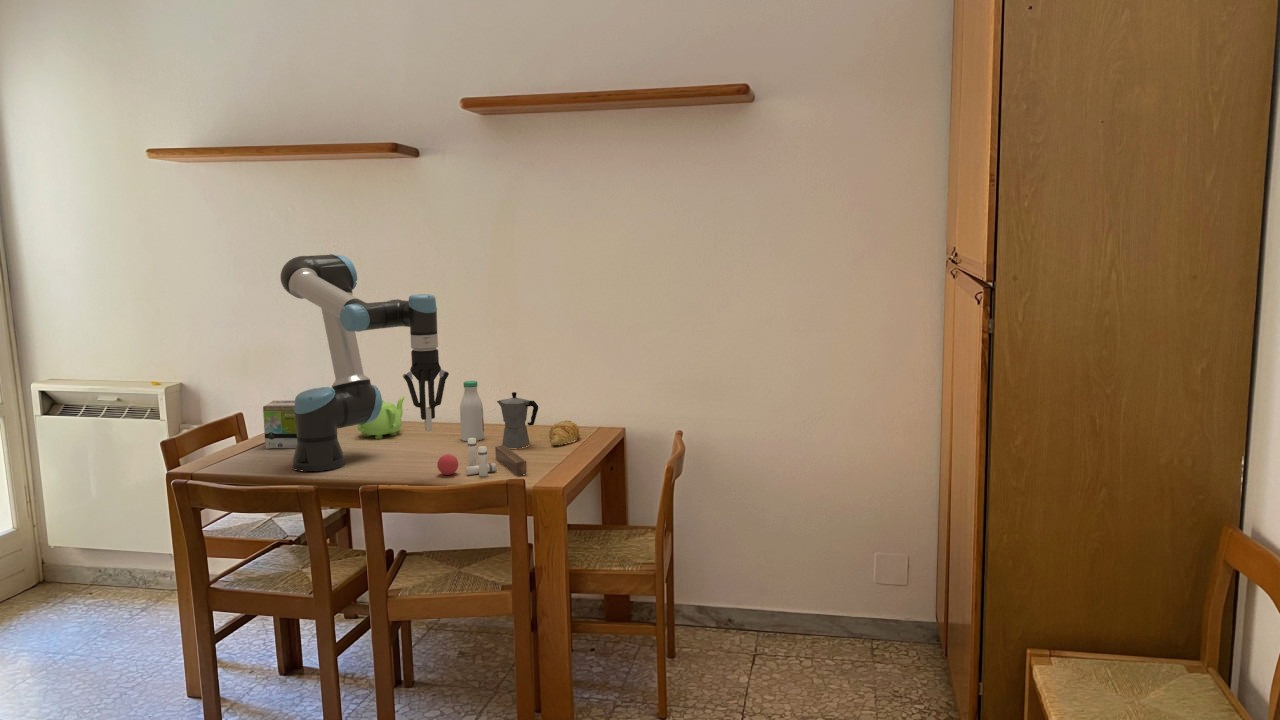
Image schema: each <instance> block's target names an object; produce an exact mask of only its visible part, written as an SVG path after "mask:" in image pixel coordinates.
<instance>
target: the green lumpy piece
mask: <svg viewBox="0 0 1280 720" xmlns="http://www.w3.org/2000/svg"><path fill="white" fill-rule="evenodd" d="M405 398H406V396H402V397H400V398H399V399H398V400H397V402H396V403H397V404H396V405H395V403H392V402H391V403H390V402H384V399H382V407H381V411H380V413H379V415H378V417H377V418H376V419H375V420H374V421H371V422H367V423H365V424H359V425H357V430H358V431H359V432H361V433H362V434H364V437H365V436H370V437H372V436H374V439H375V438H376V439H375V440H381V438H382V439H383V438H384V437H383V435H387V434H389V436H390V435H396V436H397V435H398V433H397V432H398V431H400V429H401V427H402V426H403V422H402V416H403V411H404V410H403V403H404V400H405Z"/></svg>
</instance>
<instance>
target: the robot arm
mask: <svg viewBox="0 0 1280 720" xmlns="http://www.w3.org/2000/svg"><path fill="white" fill-rule="evenodd" d="M280 271H281V272H280V283H281V285H282V288H283V289H284V290H285V291H286V292H287V293H288V294H290V295H291V296H293V297H295V298H296V299H301V300H302V299H305V300H306V301H308V302H310V303H312V304H314V305H315V306H318V307H319V308H320V309H321V312H322V313H321V314H322V319H323V323H324V329H325V333H326V334H325V335H326V337H327V338H326V339H327V343H328V350H329V353H330V358H331V364H332V369H333V373H334V378H335V380H334V381H333V383H332V385H331V387H329V386H325V387H316V388H311V389H307V390H304V391H302V392H299V393H298V394H297V395H296V397H295V398H294V401H295V408H294V411H295V418H296V432H297V446H296V448H295V451H294V454H293V459H292V461H291V463H292V469H293V468H294V469H297V470H303V471H320V472H323V471H322V470H328V471H330V470H329V469H333V470H335V469H334V468H337V469H339V468H338V467H340V468H342V467H343V465H344V464H345V465H346V458H345V454H344V451H343V450H342V447H341V445H340V442H339V439H338V429H344V428H347V427H353V426H354V427H355V426H358V425H359V424H365V423H367V422H371V421H374V420H375V419H376V418H377V417H378V415H379V413H380V411H381V407H382V400H383V397H382V394H381V391H380V390H379V388H378V387H377V386H376V385H374V384H372V382H371V378H369V377H368V376H366V375H365V374H364V369H363V364H362V359H361V354H360V349H359V344H358V338H357V334H356V333H357V332H359V333H361V332H363V331H371V330H379V329H389V328H400V327H406V328H409V333H410V334H409V335H410V348H411V349H412V350H411V351H410V352H411V355H410V356H411V367H410V369H409V370H410V371H408V372H407V373H404V374H402V377H403V379H404V381H406V385H407V386H408V387H407V388H408V390H409V394H410V398H411V401H412V403H413V406H415V407H416V408H419V409H420V410H419V411H420V418H421V420H422V421H423V420H424V430H425V431H426V432H432V431H433V424H432V423H433V421H432V420H433V419H435V418H436V407H438V406H441V404H442V400H443V395H444V390H445V384H446V381H447V379H448V377H449V375H450V373H449V372H448V371H446V370H444V369H442V367H441V365H440V359H439V358H440V357H439V350H438V347H439V341H438V339H439V338H438V312H437V311H438V307H437V301H436V296H435V295H434V294H426V293H425V294H421V293H420V294H418V293H417V294H412V295H409V296H408V300H402V299H389V300H386V301H378V302H365V301H363V300H362V299H359V298H357V297H356V296H354V295H353V290H354V289H356V288H357V281H358V275H357V274H358V272H357V270H356V267H355V265H354V263H353V262H352V260H351V259H349V258H348V257H347V256H345V255H343V254H331V253H330V254H319V255H318V254H317V255H299V256H298V255H297V256H295V257H293V258H291V259H289V260H288V261H287V262H286V263H285V264H284V265H283V267H282V269H281V270H280ZM438 375H439V378H438V379H439V380H438V385H437V390H436V394H435V379H436V378H437V376H438ZM413 377H414V378H415V379H416V380H417V381H418V393H419V396H417V392H416V389H415V386H414V385H415V384H414V383H413ZM426 382H427V391H428V394H427V396H428V405H429V406H427V404H426V403H427V402H426V400H427V399H426ZM418 397H419V399H418ZM426 406H427V407H426ZM345 465H344V466H345ZM341 466H342V467H341ZM294 469H293V470H294Z"/></svg>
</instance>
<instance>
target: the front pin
mask: <svg viewBox="0 0 1280 720" xmlns="http://www.w3.org/2000/svg"><path fill="white" fill-rule="evenodd" d="M487 470H488V473H492V472H493V473H494V472H496V471H497V463H496V462H492V463H491V462H490V463H487ZM465 473H466V475H467V476H472V475H479V464H477V466H470V467H469V466H466V468H465Z"/></svg>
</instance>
